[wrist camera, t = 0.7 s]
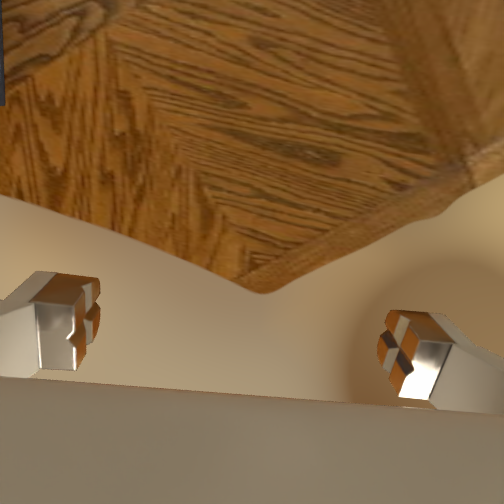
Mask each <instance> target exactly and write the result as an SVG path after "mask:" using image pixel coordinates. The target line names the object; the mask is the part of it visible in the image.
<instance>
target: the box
mask: <svg viewBox="0 0 504 504" xmlns="http://www.w3.org/2000/svg"><path fill="white" fill-rule="evenodd" d="M0 106H5V88H4V61H3V35H2V8H1V0H0Z"/></svg>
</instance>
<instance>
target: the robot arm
mask: <svg viewBox="0 0 504 504" xmlns="http://www.w3.org/2000/svg"><path fill="white" fill-rule="evenodd" d="M99 294H100V281H99V279H98V278H94V277H86V276H77V275H69V274H61V273H57V272H43V271H36V272H35V273H34V274H32V275H31V276H30V277H29V278H28V279H27V280H26V281H24V282H23V283H22V284H21V285H20V286H19V287H18V288H17V289H15V290H14V292H12V293H11V294H10V295H9V296H8V297H6V299H4V300H0V504H504V358H503V357H501V356H499V355H497V354H495V353H493V352H491V351H489V350H487V349H485V348H483V347H479V346H476V345H475V344H474V343H472V341H471V340H470V339H469V338H468V337H466V335H464V333H463V332H462V331H461V330H460V329H459V328H458V327H457V326H456V325H455V324H454V323H453V322H452V321H451V320H450V319H449V318H448V317H447V316H446V315H443V314H440V313H428V312H416V311H405V310H390V312H389V313H388V315H387V317H386V320H385V325H386V327H387V330H386V331H385V332H384V333H383V334H381V335H380V338H379V341H378V345H377V355H378V360H379V363H380V364H381V366H382V368H383V369H385V370H386V371H388V372H389V373H390V376H389V381H390V382H391V384H392V386H393V388H394V389H395V391H396V393H397V395H398V396H399V397H408V398H417V399H425V400H429V402H430V403H431V404H432V405H433V406H435V407H436V408H437V409H425V408H412V407H398V406H385V405H373V404H360V403H346V402H333V401H319V400H306V399H294V398H280V397H268V396H255V395H241V394H228V393H215V392H203V391H189V390H176V389H164V388H149V387H137V386H124V385H111V384H98V383H85V382H71V381H58V380H46V379H33V378H29V377H30V376H32V375H33V374H35V373H36V372H38V371H39V369H51V370H69V371H70V370H71V371H77V369H78V367H79V365H80V364H81V362H82V360H83V358H84V357H85V355H86V345H88V344H90V343H92V342H93V340H94V338H95V336H96V334H97V331H98V327H99V322H100V307H99V306H98V304H97V303H96V302H95V301H96V299H97V298H98V296H99Z"/></svg>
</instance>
